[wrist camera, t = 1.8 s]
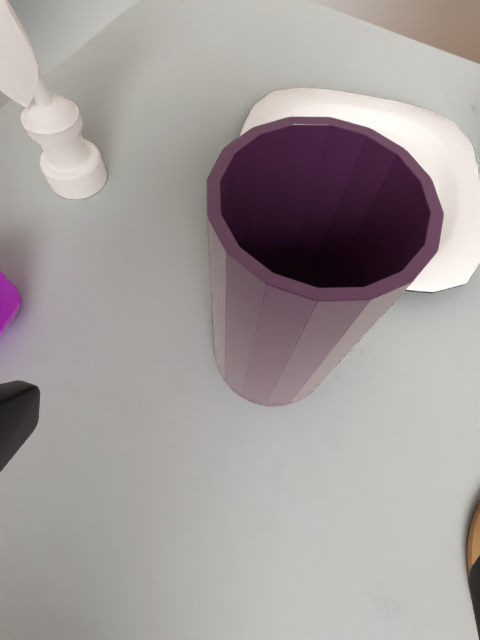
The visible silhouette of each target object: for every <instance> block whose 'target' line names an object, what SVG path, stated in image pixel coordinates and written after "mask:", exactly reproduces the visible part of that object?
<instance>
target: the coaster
mask: <svg viewBox="0 0 480 640" xmlns="http://www.w3.org/2000/svg"><path fill="white" fill-rule="evenodd" d="M479 555H480V503H479V504H478V507H477V509H476V511H475V513H474V515H473V519H472V522H471V526H470V529H469V536H468V543H467V566H468V577H469V571H470V568H471V567H472V565H473V564H474V562H475V561H476V559H477V558H478V556H479Z"/></svg>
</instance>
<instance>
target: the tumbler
mask: <svg viewBox="0 0 480 640" xmlns="http://www.w3.org/2000/svg"><path fill="white" fill-rule="evenodd" d="M443 218H444V212H443V209H442V206H441V203H440V200H439V198H438V195H437V192H436V189H435V186H434V183H433V180H432V179H431V177H430V176H429V175H428V174H427V173H426V171H425V170H424V169H423V168H422V167H421V166H420V165H419V164H418V162H417V161H416V160H415V159H414V158H413V157H412V156H411V154H410V153H409V152H408V151H407V150H405V148H403V147H401V146H400V145H398V144H396V143H395V142H393V141H391V140H390V139H388V138H386V137H385V136H383V135H381V134H380V133H378V132H376V131H375V130H373V129H370V128H369V127H365V126H362V125H358V124H354V123H351V122H347V121H344V120H340V119H336V118H333V117H331V118H330V117H293V116H291V117H286V118H283V119H279V120H276V121H272V122H269V123H265V124H262V125H258V126H255V127H253V128H251V129H249V130H248V131H247V132H245V133H244V134H243V135H241V136H240V137H239V138H237V139H236V140H234V141H233V142H232V143H230V144H229V145H228V146H226V147H225V148H224V149H223V150H222V152H221V154H220V156H219V158H218V160H217V161H216V163H215V165H214V167H213V169H212V171H211V173H210V174H209V176H208V178H207V226H208V243H209V261H210V279H211V296H212V314H213V331H214V349H215V359H216V362H217V366H218V369H219V371H220V373H221V375H222V377H223V379H224V380H225V382H226V383H227V384H228V385H229V386H230V388H231V389H232V390H233V391H235V392H236V393H237V394H238V395H240V396H241V397H243V398H245V399H247V400H249V401H251V402H253V403H257V404H260V405H266V406H281V405H287V404H291V403H294V402H296V401H299V400H300V399H302V398H304V397H305V396H307V395H308V394H309V393H311V392H312V391H313V390H314V389H315V388H316V387H317V386H318V385H319V384H320V383H321V381H322V380H323V379H324V378H325V377H326V376H327V375H328V374H329V373H330V372H331V371H332V369H333V368H334V367H335V366H336V365H337V364H338V363H339V362H340V361H341V360H342V359H343V357H344V356H345V355H346V354H347V353H348V352H349V351H350V350H351V349H352V348H353V347H354V345H355V344H356V343H357V342H358V341H359V340H360V339H361V338H362V337H363V336H364V335H365V333H366V332H367V331H368V330H369V329H370V328H371V327H372V326H373V325H374V324H375V323H376V322H377V320H378V319H379V318H380V317H381V316H382V315H383V314H384V313H385V312H386V311H387V310H388V308H389V307H390V306H391V305H392V304H393V303H394V302H395V301H396V300H397V299H398V298H399V296H400V295H401V294H402V293H403V292H404V291H405V290H406V289H407V288H408V287H409V286H410V284H411V283H412V282H413V281H414V280H415V279H416V278H417V276H418V275H419V274H420V273H421V272H422V270H423V269H424V268H425V267H426V265H427V264H428V263H429V262H430V261H431V259H432V258H433V257H434V256H435V255H436V253H437V252H438V250H439V243H440V237H441V231H442V224H443Z"/></svg>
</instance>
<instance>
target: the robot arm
mask: <svg viewBox="0 0 480 640" xmlns="http://www.w3.org/2000/svg"><path fill="white" fill-rule="evenodd" d="M39 404H40V390H39V388H38V387H37V386H36V385H33V384H30V383H27V382H24V381H19V380H18V381H12V382H8V383H3V384H0V472H1V471H2V469H3V468H4V467H5V466H6V464H7V463H8V462H9V461H10V459H11V458H12V457H13V456H14V455H15V453H16V452H17V451H18V450H19V448H20V447H21V446H22V445H23V443H24V442H25V441H26V440H27V439H28V437H29V436H30V435H31V434H32V432H33V431H34V429H35V428H36V426H37V423H38V419H39ZM468 581H469V588H470V594H471V599H472V604H473V609H474V615H475V620H476V625H477V631H478V636H479V640H480V555H479V556H478V558H477V559H476V561H475V562H474V564H473V565H472V567H471V568H470V571H469V577H468Z"/></svg>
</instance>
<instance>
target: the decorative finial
mask: <svg viewBox="0 0 480 640" xmlns="http://www.w3.org/2000/svg"><path fill="white" fill-rule="evenodd" d="M0 91H1V92H3V93H4V94H6V95H7V96H8V97H10V98H11V99H12V100H14V101H15V102H17V103H19V104H20V105H22V106H24V107H25V108H24V110H23V111H22V114H21V122H22V124H23V126H24V128H25V130H26V132H27V134H28V135H29V137H30V138H31V139H32V140H34V141H35V142H38V143H40V145H41V147H42V149H43V152H42V154H41V157H40V167H41V170H42V172H43V173H44V175H45V177H46V179H47V180H48V182H49V184H50V186H51V188H52V189H53V191H54V192H55V193H56V194H58V195H59V196H61V197H64V198H67V199H83V198H87V197H90V196H92V195H94V194H96V193H97V192H99V191H100V190H101V189H102V188H103V186H104V185H105V183H106V181H107V171H106V169H105V166H104V163H103V160H102V158H101V155H100V152H99V150H98V148H97V147H96V146H95V145H94V144H93V143H91V142H90V141H88V140H85V139H83V137H82V134H81V132H80V131H81V129H82V126H83V121H82V118H81V116H80V113H79V110H78V108H77V106H76V105H75V103H73V102H72V101H71V100H69V99H66V98H64V97H62V96H59V95H54V94H49V91H48V89H47V87H46V84H45V82H44V80H43V77H42V75H41V73H40V71H39V68H38V66H37V62H36V57H35V54H34V51H33V48H32V45H31V43H30V40H29V38H28V36H27V34H26V32H25V30H24V28H23V27H22V25H21V23H20V21H19V20H18V18H17V16H16V14H15V12H14V11H13V9H12V7H11V5H10V3H9V1H8V0H0ZM32 97H33V99H32Z"/></svg>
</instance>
